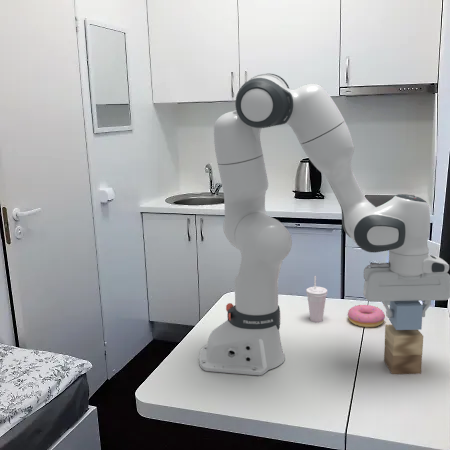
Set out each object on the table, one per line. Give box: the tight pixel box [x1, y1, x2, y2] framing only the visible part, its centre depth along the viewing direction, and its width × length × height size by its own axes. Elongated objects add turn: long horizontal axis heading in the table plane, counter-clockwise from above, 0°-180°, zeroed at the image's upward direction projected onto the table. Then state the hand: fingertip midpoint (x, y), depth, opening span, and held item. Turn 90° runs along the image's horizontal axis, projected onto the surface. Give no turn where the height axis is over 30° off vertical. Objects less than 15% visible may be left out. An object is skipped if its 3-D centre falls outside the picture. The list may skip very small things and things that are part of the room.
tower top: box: [384, 323, 424, 356], centre depth 128 cm, size 7×7×5 cm
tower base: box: [383, 343, 423, 375], centre depth 129 cm, size 7×7×5 cm
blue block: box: [388, 301, 423, 331], centre depth 126 cm, size 6×6×6 cm
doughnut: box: [347, 304, 386, 328], centre depth 156 cm, size 11×11×4 cm
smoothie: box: [305, 275, 328, 323], centre depth 157 cm, size 6×6×14 cm
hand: (405, 316), depth 126 cm, fingers closed on blue block, 6 cm apart
